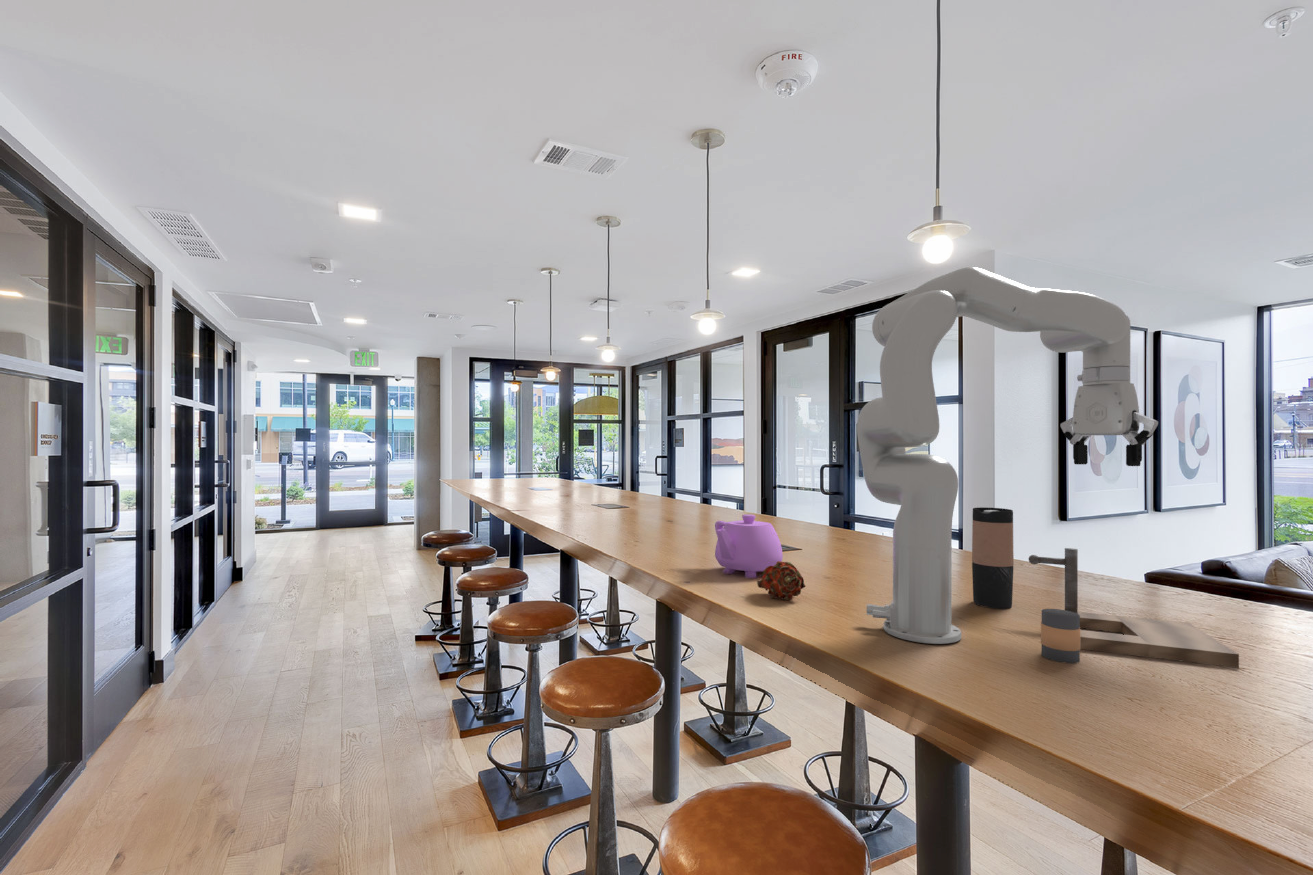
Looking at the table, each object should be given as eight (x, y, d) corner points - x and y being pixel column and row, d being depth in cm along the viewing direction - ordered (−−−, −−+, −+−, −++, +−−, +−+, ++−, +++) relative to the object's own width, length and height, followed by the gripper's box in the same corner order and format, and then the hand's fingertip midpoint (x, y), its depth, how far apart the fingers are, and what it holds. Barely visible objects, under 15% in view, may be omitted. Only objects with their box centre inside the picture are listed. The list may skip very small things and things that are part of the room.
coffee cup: (1044, 660, 94) (1044, 615, 94) (1037, 650, 99) (1037, 607, 99) (1084, 665, 92) (1084, 619, 92) (1075, 654, 97) (1075, 610, 97)
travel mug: (1002, 600, 130) (1003, 507, 131) (1020, 609, 123) (1020, 511, 123) (965, 599, 131) (966, 507, 131) (981, 608, 124) (981, 510, 124)
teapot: (684, 571, 157) (685, 514, 157) (734, 562, 171) (734, 509, 171) (744, 585, 143) (744, 521, 143) (793, 573, 156) (793, 515, 156)
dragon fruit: (799, 612, 125) (763, 607, 135) (821, 584, 129) (785, 581, 139) (777, 581, 124) (742, 578, 134) (800, 553, 128) (765, 553, 138)
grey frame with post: (1045, 644, 101) (1045, 561, 101) (1027, 616, 118) (1027, 545, 118) (1238, 667, 91) (1238, 574, 91) (1188, 633, 108) (1188, 555, 108)
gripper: (1050, 381, 125) (1049, 463, 125) (1143, 372, 109) (1143, 466, 109) (1074, 383, 128) (1074, 463, 128) (1168, 374, 112) (1168, 466, 112)
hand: (1106, 465), depth 118 cm, fingers open, 9 cm apart
